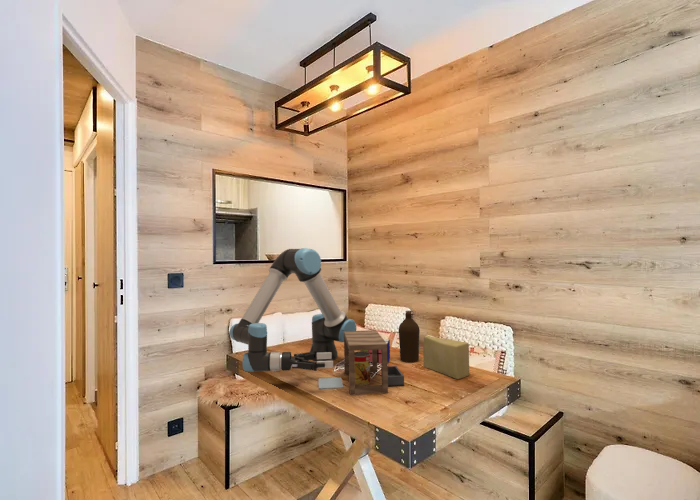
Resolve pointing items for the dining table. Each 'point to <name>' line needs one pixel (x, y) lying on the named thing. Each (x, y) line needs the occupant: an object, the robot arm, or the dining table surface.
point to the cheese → (446, 356)
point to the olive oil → (409, 339)
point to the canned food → (362, 368)
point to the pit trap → (394, 376)
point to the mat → (330, 383)
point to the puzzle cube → (379, 353)
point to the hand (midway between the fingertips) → (332, 359)
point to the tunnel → (374, 343)
